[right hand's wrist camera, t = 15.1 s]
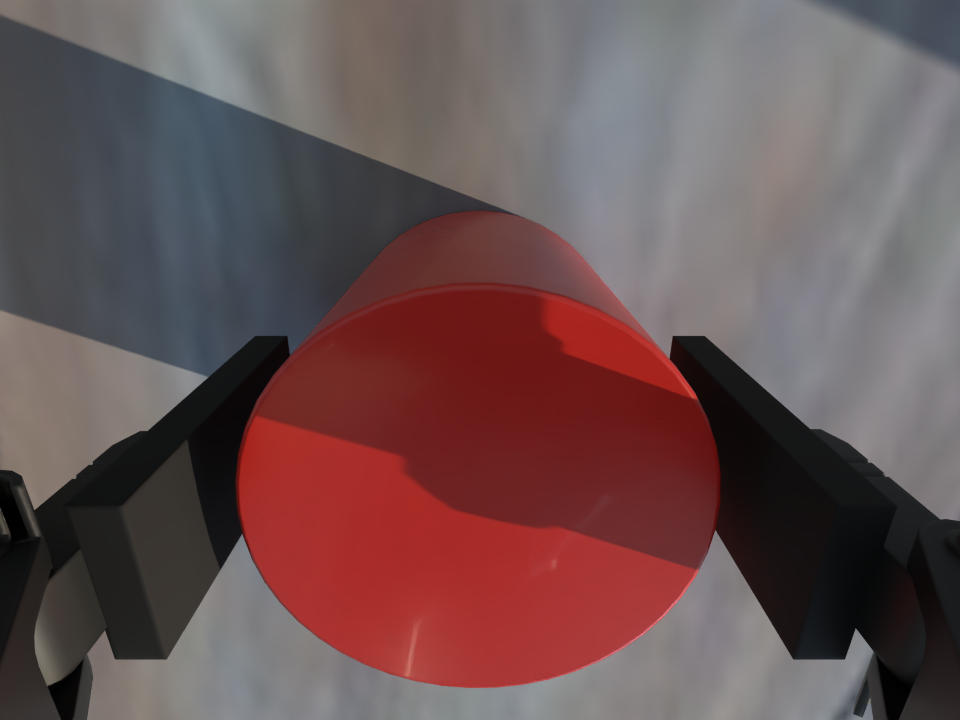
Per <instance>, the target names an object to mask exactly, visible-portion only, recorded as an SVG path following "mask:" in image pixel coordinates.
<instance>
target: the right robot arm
mask: <svg viewBox="0 0 960 720" xmlns="http://www.w3.org/2000/svg"><path fill="white" fill-rule="evenodd" d="M289 357H290V353H289V346H288V338H287V336H255V337H254V338H253V339H252V340H250V341H249V342H248V343H247V344H246V345H245V346H244V347H242V348H241V349H240V350H239V351H238V352H237V353H236V354H235V355H233V356H232V357H231V358H230V359H229V360H228V361H227V362H225V363H224V364H223V365H222V366H221V367H220V368H219V369H218V370H216V371H215V372H214V373H213V374H212V375H211V376H210V377H208V378H207V379H206V380H205V381H204V382H203V383H202V384H201V385H199V386H198V387H197V388H196V389H195V390H194V391H193V392H191V393H190V394H189V395H188V396H187V397H186V398H185V399H184V400H182V401H181V402H180V403H179V404H178V405H177V406H176V407H174V408H173V409H172V410H171V411H170V412H169V413H168V414H166V415H165V416H164V417H163V418H162V419H161V420H160V421H159V422H157V423H156V424H155V425H154V426H153V427H152V428H151V429H149V430H148V431H139V432H138V433H136V434H134V435H132V436H130V437H128V438H126V439H124V440H122V441H120V442H118V443H116V444H114V445H112V446H111V447H110V448H109V449H107V450H106V451H105V452H104V453H103V454H101V455H100V456H99V457H98V458H97V459H95V460H94V461H93V465H88V466H87V467H86V468H85V469H83V470H82V471H81V472H80V473H79V474H77V475H76V479H71V480H70V481H69V482H68V483H67V484H65V485H64V486H63V487H62V488H61V489H60V490H58V491H57V492H56V493H55V494H54V495H52V496H51V497H50V498H49V499H48V500H46V501H45V502H44V503H43V504H42V505H40V506H39V507H38V508H37V509H36V510H34V508H33V505H32V503H31V500H30V497H29V495H28V492H27V489H26V486H25V484H24V481H23V478H22V476H21V475H19V474H17V473H15V472H13V471H8V470H0V720H87V715H88V708H89V701H90V695H91V688H92V681H93V674H92V668H91V664H90V661H89V658H88V655H87V653H88V652H89V650H90V649H91V648H92V646H93V645H94V644H95V642H96V641H97V640H98V639H99V637H100V636H101V635H102V633H103V632H104V631H106V634H107V637H108V640H109V643H110V646H111V649H112V652H113V655H114V658H115V659H167V658H168V656H169V655H170V653H171V651H172V650H173V648H174V646H175V645H176V643H177V641H178V640H179V638H180V636H181V635H182V633H183V631H184V630H185V628H186V626H187V625H188V623H189V621H190V620H191V618H192V616H193V615H194V613H195V611H196V610H197V608H198V606H199V605H200V603H201V601H202V600H203V598H204V596H205V595H206V593H207V591H208V590H209V588H210V586H211V585H212V583H213V581H214V580H215V578H216V576H217V575H218V573H219V571H220V570H221V568H222V566H223V565H224V563H225V561H226V560H227V558H228V556H229V555H230V553H231V551H232V550H233V548H234V546H235V545H236V543H237V541H238V540H239V538H240V536H241V535H242V529H241V525H240V520H239V516H238V511H237V498H236V471H237V460H238V452H239V449H240V445H241V441H242V437H243V433H244V430H245V426H246V424H247V422H248V419H249V417H250V415H251V413H252V410H253V408H254V406H255V404H256V401H257V399H258V398H259V396H260V395H261V393H262V392H263V390H264V389H265V387H266V386H267V384H268V383H269V381H270V380H271V378H272V376H273V375H274V374H275V373H276V371H277V370H278V369H279V368H280V367H281V366H282V365H283V363H284V362H285V361H286V360H287V359H288V358H289ZM670 360H671V362H672V363H673V364H674V365H675V366H676V367H677V369H678V370H679V371H680V373H681V374H682V376H683V377H684V378H685V380H686V381H687V383H688V384H689V385H690V387H691V388H692V390H693V391H694V392H695V394H696V396H697V398H698V400H699V402H700V404H701V406H702V408H703V410H704V412H705V414H706V416H707V418H708V420H709V423H710V427H711V430H712V433H713V436H714V439H715V442H716V445H717V452H718V458H719V465H720V472H721V484H720V507H719V512H718V518H717V524H716V529H715V530H716V531H717V533H718V535H719V536H720V538H721V540H722V541H723V543H724V545H725V546H726V548H727V550H728V551H729V553H730V555H731V556H732V558H733V560H734V561H735V563H736V565H737V566H738V568H739V570H740V571H741V573H742V575H743V576H744V578H745V580H746V581H747V583H748V585H749V586H750V588H751V590H752V591H753V593H754V595H755V596H756V598H757V600H758V601H759V603H760V605H761V606H762V608H763V610H764V611H765V613H766V615H767V616H768V618H769V620H770V621H771V623H772V625H773V626H774V628H775V630H776V631H777V633H778V635H779V636H780V638H781V640H782V641H783V643H784V645H785V646H786V648H787V650H788V651H789V653H790V655H791V656H792V658H793V659H845V658H846V655H847V652H848V649H849V646H850V643H851V640H852V637H853V634H854V631H855V628H856V629H857V630H858V631H859V633H860V634H861V635H862V637H863V638H864V639H865V641H866V642H867V643H868V645H869V646H870V647H871V648H872V650H873V651H874V653H873V655H872V658H871V661H870V664H869V666H868V669H867V672H866V675H865V677H864V680H863V683H862V685H861V688H860V691H859V694H858V696H857V699H856V702H855V707H854V713H853V714H855V715H858V716H860V717H863V715H864V712H865V709H866V707H867V704H869V703H871V706H872V713H873V720H960V521H955V520H948V519H942V520H940V519H939V518H938V517H936V516H935V515H934V514H933V513H932V512H930V511H929V510H928V509H927V508H926V507H924V506H923V505H922V504H921V503H920V502H918V501H917V500H916V499H915V498H914V497H912V496H911V495H910V494H909V493H908V492H906V491H905V490H904V489H903V488H901V487H900V486H899V485H898V484H897V483H895V482H894V481H893V480H892V479H891V478H889V477H885V476H884V473H883V472H882V471H881V470H880V469H879V468H877V467H876V466H875V465H874V464H873V463H868V459H866V458H865V457H864V456H863V455H862V454H860V453H859V452H858V451H857V450H856V449H854V448H853V447H852V446H851V445H850V444H848V443H847V442H845V441H843V440H841V439H839V438H837V437H835V436H833V435H831V434H829V433H827V432H825V431H823V430H821V429H809V428H808V427H807V426H806V425H805V424H804V423H803V422H801V421H800V420H799V419H798V418H797V417H796V416H795V415H794V414H792V413H791V412H790V411H789V410H788V409H787V408H786V407H784V406H783V405H782V404H781V403H780V402H779V401H778V400H777V399H775V398H774V397H773V396H772V395H771V394H770V393H769V392H767V391H766V390H765V389H764V388H763V387H762V386H761V385H759V384H758V383H757V382H756V381H755V380H754V379H753V378H752V377H750V376H749V375H748V374H747V373H746V372H745V371H744V370H742V369H741V368H740V367H739V366H738V365H737V364H736V363H735V362H733V361H732V360H731V359H730V358H729V357H728V356H727V355H725V354H724V353H723V352H722V351H721V350H720V349H719V348H718V347H716V346H715V345H714V344H713V343H712V342H711V341H710V340H708V339H707V338H706V337H705V336H673V339H672V346H671V353H670Z"/></svg>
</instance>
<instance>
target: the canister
mask: <svg viewBox="0 0 960 720" xmlns="http://www.w3.org/2000/svg"><path fill="white" fill-rule="evenodd" d="M720 484H721V472H720V465H719V458H718V452H717V445H716V442H715V439H714V436H713V433H712V430H711V427H710V423H709V420H708V418H707V416H706V414H705V412H704V410H703V408H702V406H701V404H700V402H699V400H698V398H697V396H696V394H695V392H694V391H693V390H692V388H691V387H690V385H689V384H688V383H687V381H686V380H685V378H684V377H683V376H682V374H681V373H680V371H679V370H678V369H677V367H676V366H675V365H674V364H673V363H672V362H671V360H670V359H669V358H668V357H667V356H666V355H665V353H664V352H663V351H662V350H661V349H660V347H659V346H658V345H657V344H656V343H655V342H654V340H653V339H652V338H651V337H650V336H649V335H648V333H647V332H646V331H645V330H644V329H643V328H642V326H641V325H640V324H639V323H638V322H637V321H636V319H635V318H634V317H633V316H632V315H631V314H630V312H629V311H628V310H627V309H626V308H625V307H624V305H623V304H622V303H621V302H620V301H619V300H618V298H617V297H616V296H615V295H614V294H613V292H612V291H611V290H610V289H609V288H608V287H607V285H606V284H605V283H604V282H603V281H602V280H601V278H600V277H599V276H598V275H597V274H596V273H595V271H594V270H593V269H592V268H591V267H590V266H589V264H588V263H587V262H586V261H585V260H584V259H583V257H582V256H581V255H580V254H579V253H578V252H577V251H576V250H575V249H574V248H573V247H572V246H571V245H570V244H569V243H567V242H566V241H565V240H563V239H562V238H561V237H560V236H558V235H557V234H556V233H554V232H552V231H550V230H549V229H547V228H545V227H543V226H542V225H540V224H538V223H535V222H533V221H530V220H528V219H525V218H523V217H519V216H515V215H511V214H507V213H502V212H493V211H464V212H458V213H451V214H446V215H443V216H440V217H436V218H433V219H430V220H428V221H425V222H423V223H421V224H419V225H417V226H414V227H413V228H411V229H409V230H408V231H406V232H405V233H403V234H401V235H400V236H398V237H397V238H396V239H395V240H393V241H392V242H391V243H390V244H389V245H388V246H386V247H385V248H384V249H383V250H382V251H381V252H380V254H379V255H378V256H377V257H376V258H375V259H374V260H373V261H372V263H371V264H370V265H369V266H368V267H367V268H366V269H365V271H364V272H363V273H362V274H361V275H360V276H359V277H358V279H357V280H356V281H355V282H354V283H353V284H352V285H351V287H350V288H349V289H348V290H347V291H346V292H345V293H344V295H343V296H342V297H341V298H340V299H339V300H338V302H337V303H336V304H335V305H334V306H333V307H332V308H331V310H330V311H329V312H328V313H327V314H326V315H325V316H324V318H323V319H322V320H321V321H320V322H319V323H318V324H317V326H316V327H315V328H314V329H313V330H312V331H311V332H310V334H309V335H308V336H307V337H306V338H305V339H304V341H303V342H302V343H301V344H300V345H299V346H298V347H297V349H296V350H295V351H294V352H293V353H292V354H291V355H290V357H289V358H288V359H287V360H286V361H285V362H284V363H283V365H282V366H281V367H280V368H279V369H278V370H277V371H276V373H275V374H274V375H273V376H272V378H271V380H270V381H269V383H268V384H267V386H266V387H265V389H264V390H263V392H262V393H261V395H260V396H259V398H258V399H257V401H256V404H255V406H254V408H253V410H252V413H251V415H250V417H249V419H248V422H247V424H246V426H245V430H244V433H243V437H242V441H241V445H240V449H239V452H238V460H237V471H236V498H237V511H238V516H239V520H240V525H241V529H242V534H243V537H244V540H245V542H246V545H247V547H248V550H249V553H250V555H251V558H252V560H253V562H254V564H255V565H256V567H257V569H258V571H259V573H260V574H261V576H262V578H263V580H264V582H265V583H266V584H267V586H268V587H269V588H270V590H271V591H272V592H273V594H274V595H275V596H276V598H277V599H278V600H279V602H280V603H281V604H282V605H283V606H284V607H285V608H286V609H287V610H288V611H289V612H290V613H291V614H292V615H293V616H294V618H295V619H296V620H297V621H298V622H300V623H301V624H302V625H303V626H304V627H306V628H307V629H308V630H309V631H311V632H312V633H313V634H314V635H315V636H317V637H318V638H319V639H321V640H322V641H324V642H325V643H327V644H329V645H330V646H332V647H333V648H335V649H336V650H338V651H339V652H341V653H343V654H345V655H347V656H349V657H351V658H353V659H355V660H357V661H359V662H361V663H363V664H365V665H368V666H370V667H373V668H375V669H378V670H381V671H383V672H386V673H388V674H392V675H395V676H399V677H403V678H406V679H410V680H414V681H418V682H424V683H430V684H435V685H441V686H453V687H465V688H493V687H505V686H514V685H523V684H528V683H533V682H538V681H543V680H548V679H552V678H555V677H558V676H562V675H565V674H568V673H571V672H575V671H577V670H579V669H582V668H584V667H587V666H589V665H592V664H594V663H596V662H599V661H601V660H603V659H604V658H606V657H608V656H610V655H612V654H614V653H616V652H617V651H619V650H621V649H623V648H624V647H626V646H627V645H629V644H630V643H631V642H633V641H634V640H636V639H637V638H639V637H640V636H642V635H643V634H644V633H646V632H647V631H648V630H649V629H650V628H651V627H652V626H654V625H655V624H656V623H657V622H658V621H659V620H660V619H662V618H663V617H664V616H665V615H666V614H667V612H668V611H669V610H670V609H671V608H672V607H673V606H674V605H675V604H676V602H677V601H678V600H679V599H680V598H681V597H682V595H683V594H684V592H685V591H686V590H687V588H688V587H689V585H690V584H691V582H692V581H693V579H694V578H695V577H696V575H697V573H698V571H699V569H700V567H701V565H702V563H703V561H704V559H705V557H706V555H707V553H708V550H709V547H710V544H711V541H712V538H713V535H714V532H715V529H716V524H717V518H718V512H719V507H720Z"/></svg>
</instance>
